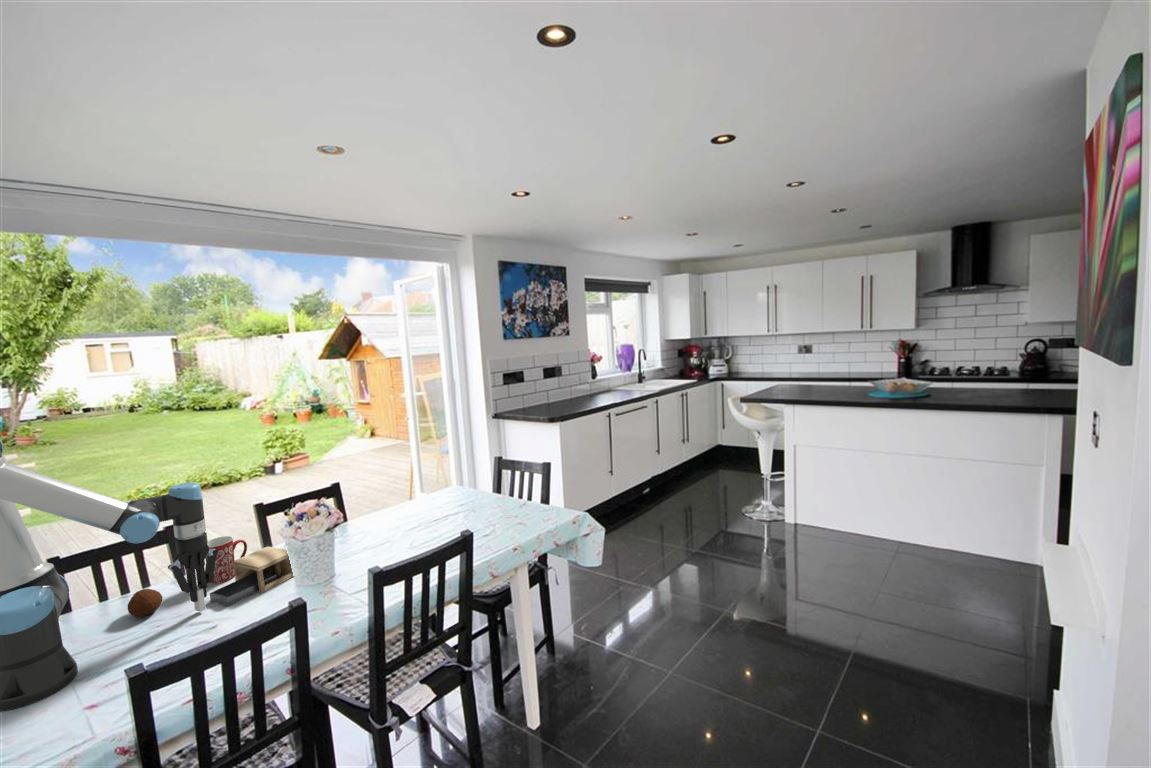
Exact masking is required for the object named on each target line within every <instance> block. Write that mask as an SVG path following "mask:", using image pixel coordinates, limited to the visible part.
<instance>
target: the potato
mask: <svg viewBox="0 0 1151 768" xmlns="http://www.w3.org/2000/svg"><path fill="white" fill-rule="evenodd" d="M163 600H164V599H163V595H162V594H161V592H159V591H157V590H156V589H151V588H143V589H139V590H138V591H136V592H134V593H133V595H132V596H131V597H130V599H129V601H128V604H127V608H126V609H127V611H128V613H129V614H130V615H131V616H134V617H137V618H139V617H145V616H147V615H150V614H152V613H154V612H156V610H158V608H159V607H160V606H161V604H162V602H163Z"/></svg>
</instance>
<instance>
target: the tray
mask: <svg viewBox="0 0 1151 768" xmlns="http://www.w3.org/2000/svg"><path fill="white" fill-rule="evenodd" d="M263 577H264V585H266V584H268V583H270V582H272V581H274V580H276V579H277V575H276V573H273V572H270V573H268V572H265V571H263ZM258 592H259V586H258V578H257V572H255V573H252V574H250V575H248V576H246V577H244V578H242V579H239V580H237V581H236V580H235V581H232V582H231V583H229V584H226V585H224V586H223V587H220V588H218V589H216V590H214V591H211V592H209V599H210V602H211V603H214V604H218V605H220V606H223V607H231V606H232V605H235V604H237V603H239V602H241V601H243V600H245V599H247V598H249V597H251V596H253V595H255V594H257V593H258ZM259 593H260V592H259Z"/></svg>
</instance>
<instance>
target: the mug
mask: <svg viewBox="0 0 1151 768" xmlns="http://www.w3.org/2000/svg"><path fill="white" fill-rule="evenodd" d="M233 540H234V537H233V536H232V535H225V536H224V535H223V536H219V537H213V538H212V539H207V541H208V543H207V545H208V546H209V548H210V549H216V550H218V554H217V556H216V559H215V566H214V574H213V581H212V584H221V583H225V582H227V581H230V580H232V579H234V578H235V573H234V566H233V561H235V560H236V559H235V552H234V551H235V549H236V547H237V545H238V544H239V543H242V544H243V551H242V553H241V555H240V557H239V558H242V557H244V556H246V555H247V551H248V544H247V542H246V541H245V540H244V539H237V540H235V541H233ZM206 560H207V556H206V558H205V560H204V561H206Z"/></svg>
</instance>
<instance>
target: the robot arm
mask: <svg viewBox="0 0 1151 768" xmlns="http://www.w3.org/2000/svg"><path fill="white" fill-rule="evenodd" d="M3 446H4V445H3V441H2V439H0V712H2V711H9V710H14V709H18V708H21V707H25V706H29V705H30V704H33V703H36V702H38V701H41V700H43V699H45V698H47V697H49V696H51V695H53V694H55V693H56V692H59V691H60V690H62V689H63V688H65V687H66V686H67V685H69V684H70V683H71V682H72V681H74V680H75V679H76V677H77V676H78V674H79V669H78V664H77V662H76V660H75V658H73V656H72V655H71V654H70V653H69V651H68V650H67V649H66V647H64V643H63V639H62V634H61V627H60V620H59V619H60V616H61V614H62V612H63V610H64V607H65V605H66V604H67V602H68V601H69V600H68V599H69V597H70V596H69V595H70V586H69V584H68V583H69V582H68V581H67V579H66V578H65V577H64V576H63V575H61V574H59V573H58V572H57V570H56V566H55V565H54V564H53V563H51V562H45V561H43V559H42V558H41V555H40V553H39V551H38V549H37V547H36V544H35V543H34V541H33V539H32V536H31V534H30V531H29V530H28V528H27V526H26V524H25V522H24V520H23V517H22V515H21V513H20V511H19V509H18V507H17V505H21V506H23V507H27V508H30V509H34V510H37V511H41V512H45V513H47V514H51V515H54V516H57V517H61V518H64V519H68V520H70V521H73V522H77V523H80V524H84V525H88V526H90V527H93V528H97V529H101V530H104V531H107V532H111V533H113V534H115V535H119V536H120V537H121V538H122V539H123V540H125V541H126V542H127V543H130V544H141V543H145V542H147V541H150V540H151V539H152V538H153V537H154V536H155V535H156V534H157V532H158V530H159V528H160V524H161V523H162V522H163V523H164V522H167V521H170V520H172V525H173V533H174V539H175V538H176V539H175V540H174V541H175V549H176V552H177V553H176V554H177V555H176V557H175V561H174V562H173V563H172V564H169V565H168V566H167V569H168V570H169V571H171V572H172V573H173V576H174V578H175V580H176V582H177V584H178V587H179V588H180V590H181V592H183V593H186V594H189V598H190V602H193V603H194V604H193V605H194V611H196V612H199V613H201V612H203V611H205V610H206V602H205V601H206V600H205V598H207V596H208V593H207V588H208V587H209V584H211V583H212V581H213V574H214V566H215V559H216V556H217V554H218V550H216V549H210V548H209V546H208V545H207V543H208V536H207V535H208V533H207V532H206V531H207V527H206V518H205V511H204V502H203V495H202V494H203V493H202V488H201V485H200V484H199V483H197V482H184V483H183V482H182V483H179V484H175V485H173V486H170V487H169V489H168V493H167V494H163V495H158V496H151V497H146V498H140V499H135V500H133V499H132V500H128V501H122V500H119V499H116V498H113V497H110V496H107V495H106V494H105V495H104V494H102V493H98V492H95V491H92V490H90V489H86V488H85V487H80V486H78V485H75V484H73V483H69V482H66V481H63V480H60V479H56V478H54V477H51V476H49V475H46V474H44V473H43V474H42V473H40V472H37V471H34V470H30V469H28V468H25V467H21V466H19V465H16V464H13V463H10V462H8V461H7V459H6V457H5V456H4V455H3V451H4V447H3ZM206 556H207V560H205V558H206ZM181 565H182V566H183V567H184V570H185V573H186V577H185V574H184V572H183V571H182V569H181V568H182V566H181ZM212 584H213V583H212Z"/></svg>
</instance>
